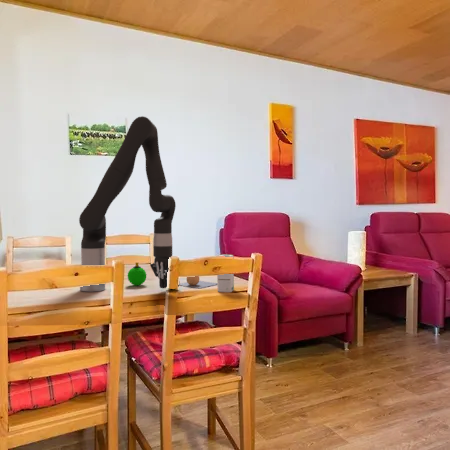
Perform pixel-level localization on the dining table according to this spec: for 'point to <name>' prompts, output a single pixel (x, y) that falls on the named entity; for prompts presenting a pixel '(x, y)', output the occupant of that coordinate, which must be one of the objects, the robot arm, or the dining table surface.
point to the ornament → (137, 275)
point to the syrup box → (225, 281)
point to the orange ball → (193, 280)
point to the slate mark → (200, 284)
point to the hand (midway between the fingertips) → (163, 287)
